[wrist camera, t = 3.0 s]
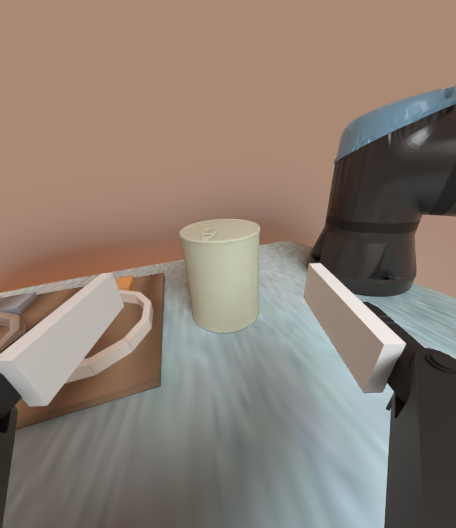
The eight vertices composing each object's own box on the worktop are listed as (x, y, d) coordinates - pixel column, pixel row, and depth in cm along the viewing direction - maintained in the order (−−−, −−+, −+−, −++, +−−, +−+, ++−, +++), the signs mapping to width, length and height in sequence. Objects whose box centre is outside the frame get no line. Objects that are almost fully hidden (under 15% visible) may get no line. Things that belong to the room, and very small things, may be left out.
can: (179, 325, 24) (159, 234, 19) (209, 286, 32) (200, 214, 27) (251, 341, 21) (250, 239, 16) (264, 294, 29) (266, 215, 24)
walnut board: (164, 277, 36) (161, 265, 34) (160, 386, 17) (154, 367, 16) (-31, 312, 29) (-42, 299, 28) (-367, 543, 11) (-436, 531, 10)
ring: (157, 276, 34) (155, 269, 33) (148, 361, 19) (144, 350, 18) (77, 290, 31) (73, 282, 31) (-13, 404, 16) (-24, 393, 15)
